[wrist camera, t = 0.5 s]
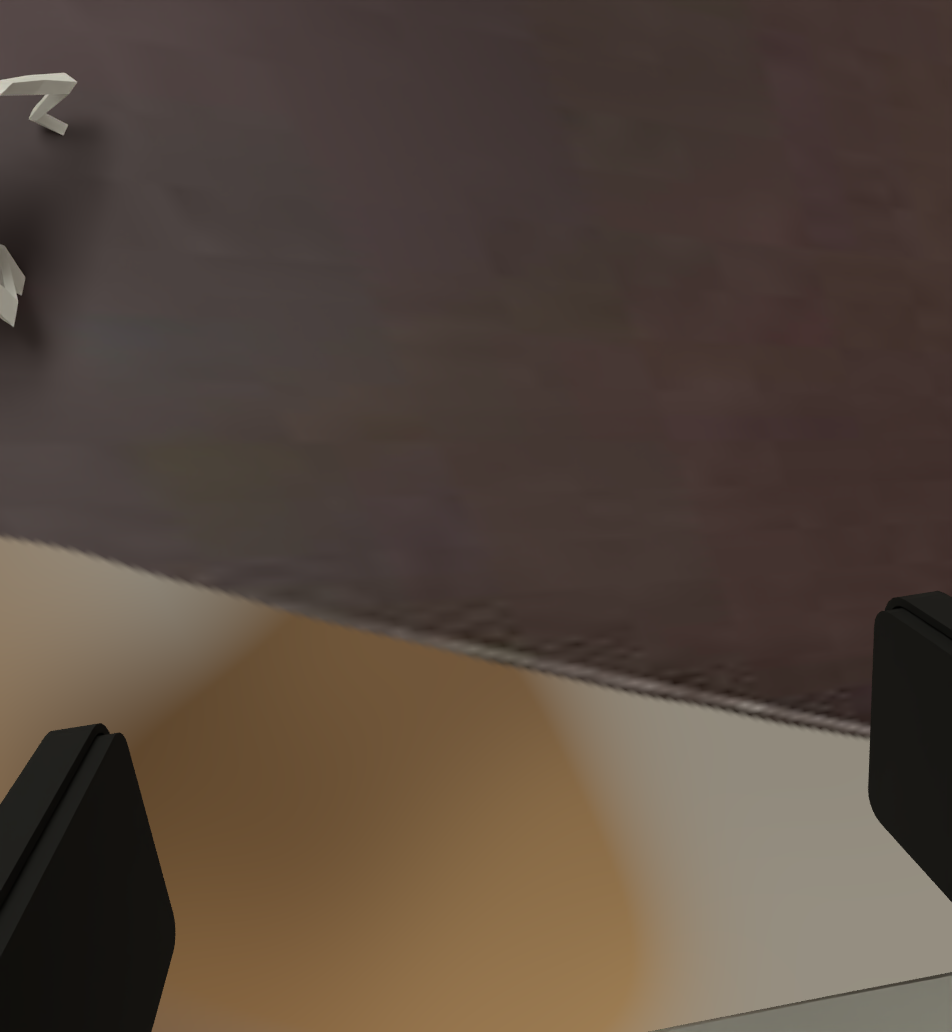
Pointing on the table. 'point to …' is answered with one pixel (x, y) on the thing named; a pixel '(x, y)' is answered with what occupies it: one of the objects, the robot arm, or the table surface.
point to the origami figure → (3, 273)
